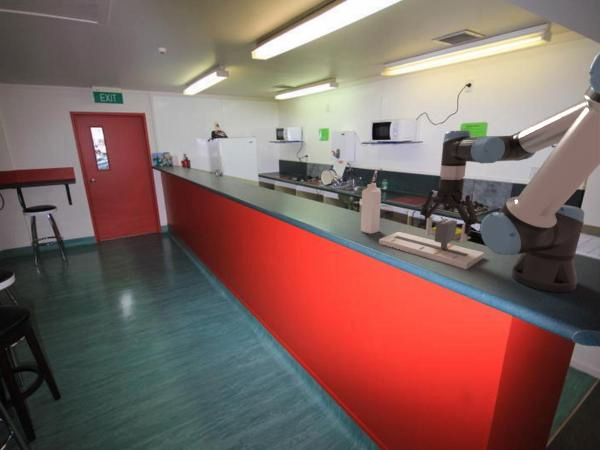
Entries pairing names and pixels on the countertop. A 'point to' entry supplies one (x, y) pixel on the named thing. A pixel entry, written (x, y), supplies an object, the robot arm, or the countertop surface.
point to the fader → (445, 232)
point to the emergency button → (457, 235)
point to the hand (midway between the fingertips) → (444, 238)
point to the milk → (370, 209)
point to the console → (433, 249)
